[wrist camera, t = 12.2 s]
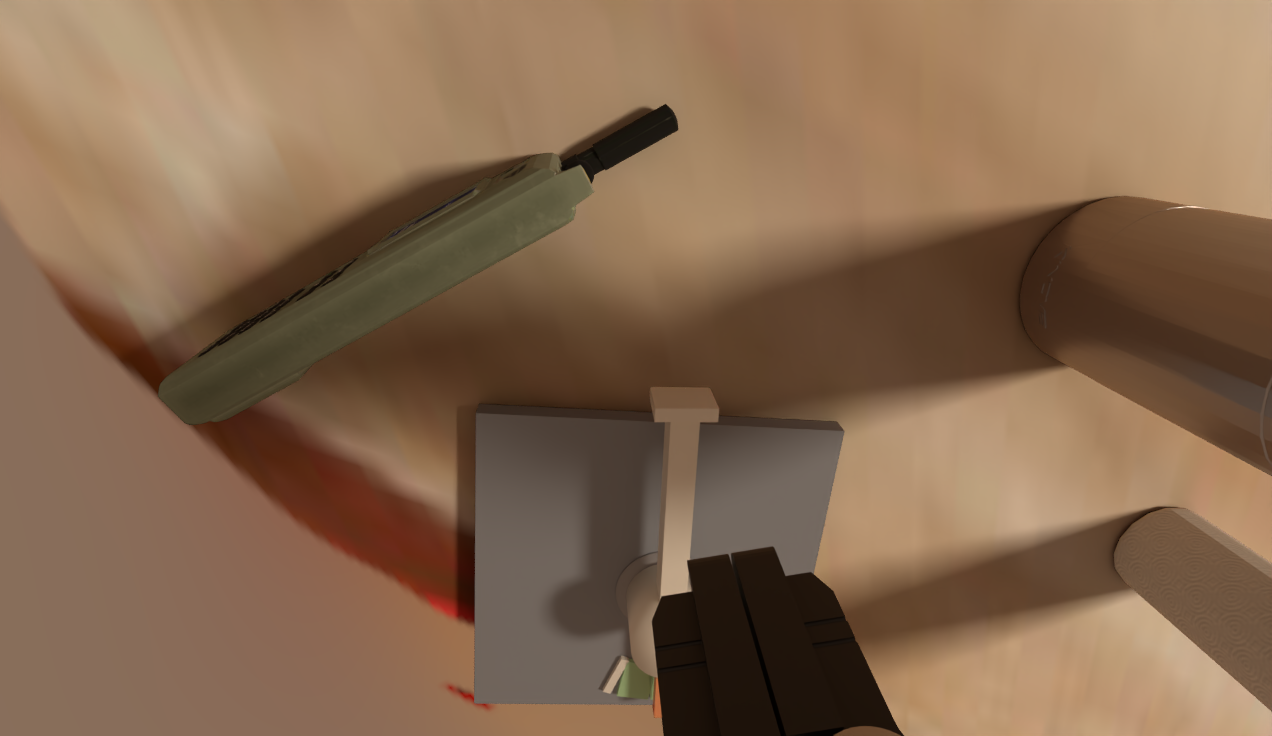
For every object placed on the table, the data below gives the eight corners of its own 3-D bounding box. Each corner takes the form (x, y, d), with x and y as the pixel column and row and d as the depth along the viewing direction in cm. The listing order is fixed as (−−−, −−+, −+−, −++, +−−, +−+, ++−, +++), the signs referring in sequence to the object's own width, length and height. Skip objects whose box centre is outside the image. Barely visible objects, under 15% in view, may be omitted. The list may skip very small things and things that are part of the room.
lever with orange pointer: (691, 696, 43) (702, 755, 39) (622, 699, 43) (626, 758, 39) (718, 377, 35) (735, 411, 32) (634, 377, 35) (640, 411, 31)
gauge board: (836, 421, 39) (846, 433, 37) (780, 691, 46) (786, 709, 44) (479, 403, 37) (474, 415, 35) (477, 688, 44) (473, 707, 42)
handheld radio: (217, 326, 35) (654, 78, 32) (261, 378, 36) (684, 144, 33) (141, 380, 28) (674, 79, 26) (198, 440, 30) (710, 159, 27)
